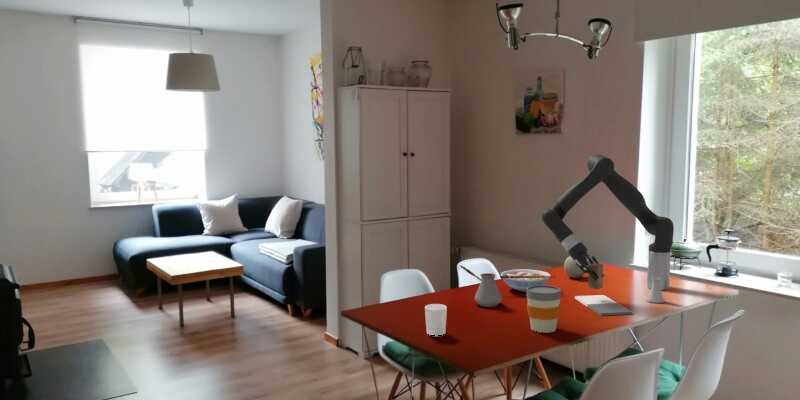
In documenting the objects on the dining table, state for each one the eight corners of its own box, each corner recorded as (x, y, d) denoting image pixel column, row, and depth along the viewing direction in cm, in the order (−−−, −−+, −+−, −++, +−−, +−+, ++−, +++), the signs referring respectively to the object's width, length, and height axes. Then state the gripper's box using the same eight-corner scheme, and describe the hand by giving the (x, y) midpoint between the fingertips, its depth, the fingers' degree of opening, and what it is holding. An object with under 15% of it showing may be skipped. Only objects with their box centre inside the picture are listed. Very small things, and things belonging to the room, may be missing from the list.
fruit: (590, 280, 296) (591, 250, 295) (567, 280, 297) (567, 250, 295) (584, 275, 307) (584, 246, 305) (561, 275, 307) (562, 246, 305)
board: (574, 298, 263) (574, 296, 263) (603, 297, 265) (603, 294, 265) (600, 315, 238) (600, 313, 238) (632, 314, 239) (632, 311, 239)
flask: (666, 304, 253) (667, 280, 252) (648, 303, 254) (648, 280, 253) (662, 299, 260) (663, 276, 259) (644, 298, 261) (645, 276, 260)
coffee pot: (507, 304, 257) (507, 269, 255) (490, 310, 249) (490, 274, 247) (468, 295, 272) (467, 262, 270) (451, 300, 264) (451, 267, 262)
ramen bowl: (547, 283, 291) (547, 267, 290) (558, 296, 268) (558, 278, 267) (495, 284, 291) (495, 267, 291) (501, 296, 269) (501, 278, 268)
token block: (588, 287, 257) (588, 264, 256) (592, 285, 260) (593, 262, 259) (597, 289, 254) (598, 266, 253) (602, 287, 257) (603, 264, 256)
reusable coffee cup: (537, 321, 232) (537, 283, 230) (567, 328, 223) (567, 288, 222) (519, 329, 223) (519, 289, 221) (549, 336, 214) (550, 295, 213)
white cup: (424, 330, 224) (423, 304, 223) (445, 329, 224) (444, 303, 223) (426, 337, 216) (426, 310, 215) (448, 336, 216) (448, 309, 215)
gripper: (571, 243, 255) (598, 276, 248) (587, 239, 265) (613, 270, 258) (560, 254, 259) (586, 286, 252) (576, 249, 270) (601, 280, 262)
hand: (599, 278), depth 255 cm, fingers closed on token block, 4 cm apart
